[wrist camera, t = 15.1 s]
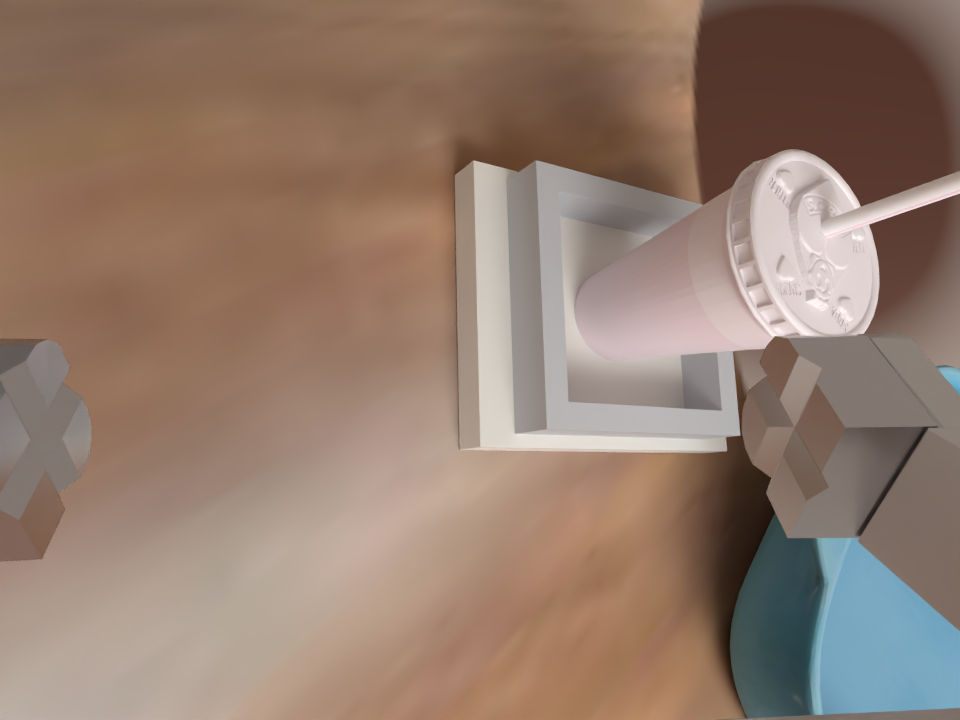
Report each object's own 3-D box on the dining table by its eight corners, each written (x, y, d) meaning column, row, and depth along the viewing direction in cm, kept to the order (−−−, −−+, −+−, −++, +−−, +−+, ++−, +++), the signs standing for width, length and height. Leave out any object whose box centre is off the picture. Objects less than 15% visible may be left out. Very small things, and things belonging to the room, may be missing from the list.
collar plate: (454, 175, 29) (517, 125, 25) (683, 229, 36) (760, 197, 32) (459, 449, 27) (528, 440, 23) (701, 453, 34) (785, 446, 30)
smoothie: (673, 278, 33) (1033, 149, 21) (654, 413, 31) (1042, 354, 19) (563, 217, 30) (907, 29, 18) (534, 361, 28) (902, 254, 16)
